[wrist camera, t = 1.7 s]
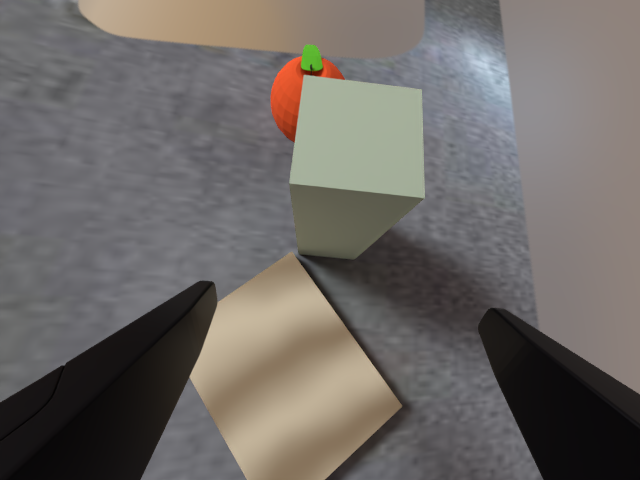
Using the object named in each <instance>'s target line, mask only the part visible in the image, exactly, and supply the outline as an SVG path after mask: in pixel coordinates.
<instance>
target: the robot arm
mask: <svg viewBox="0 0 640 480" xmlns="http://www.w3.org/2000/svg"><path fill="white" fill-rule="evenodd" d="M216 308H217V294H216V287H215V284H214V282H212V281H199V282H197V283H195V284H194V285H192V286H191V287H189V288H187V289H186V290H184V291H182V292H181V293H179V294H177V295H176V296H174V297H173V298H171V299H169V300H168V301H166V302H164V303H163V304H161V305H160V306H158V307H156V308H155V309H153V310H151V311H150V312H148V313H147V314H145V315H143V316H142V317H140V318H138V319H137V320H135V321H134V322H132V323H130V324H129V325H127V326H125V327H124V328H122V329H120V330H119V331H117V332H116V333H114V334H112V335H111V336H109V337H107V338H106V339H104V340H103V341H101V342H99V343H98V344H96V345H94V346H93V347H91V348H90V349H88V350H86V351H85V352H83V353H81V354H80V355H78V356H77V357H75V358H73V359H72V360H70V361H68V362H67V363H66V364H65V366H60V367H58V368H57V369H55V370H54V371H52V372H50V373H49V374H47V375H45V376H44V377H42V378H40V379H39V380H37V381H35V382H34V383H32V384H30V385H29V386H27V387H25V388H24V389H22V390H20V391H19V392H17V393H15V394H14V395H12V396H10V397H9V398H7V399H5V400H4V401H2V402H0V480H140V479H141V477H142V475H143V473H144V471H145V469H146V467H147V465H148V463H149V461H150V459H151V456H152V454H153V452H154V450H155V448H156V446H157V444H158V442H159V440H160V438H161V435H162V433H163V431H164V429H165V427H166V425H167V423H168V421H169V419H170V417H171V414H172V412H173V410H174V408H175V406H176V404H177V402H178V400H179V398H180V396H181V393H182V391H183V389H184V387H185V385H186V383H187V381H188V379H189V377H190V375H191V372H192V370H193V368H194V366H195V364H196V362H197V360H198V358H199V355H200V353H201V350H202V348H203V345H204V342H205V339H206V336H207V334H208V331H209V328H210V325H211V322H212V319H213V316H214V314H215V311H216ZM478 331H479V334H480V337H481V340H482V342H483V345H484V348H485V350H486V353H487V356H488V359H489V361H490V364H491V367H492V370H493V372H494V375H495V377H496V380H497V382H498V384H499V386H500V388H501V391H502V393H503V395H504V397H505V399H506V401H507V403H508V405H509V408H510V410H511V412H512V414H513V416H514V418H515V420H516V422H517V425H518V427H519V429H520V431H521V433H522V435H523V437H524V439H525V442H526V444H527V446H528V448H529V450H530V452H531V454H532V456H533V459H534V461H535V463H536V465H537V467H538V469H539V471H540V473H541V476H542V478H543V480H640V394H638V393H636V392H635V391H633V390H632V389H630V388H628V387H627V386H626V385H624V384H622V383H621V382H619V381H617V380H616V379H614V378H613V377H611V376H610V375H608V374H607V373H605V372H603V371H602V370H600V369H599V368H597V367H595V366H594V365H592V364H591V363H589V362H588V361H586V360H584V359H583V358H581V357H580V356H578V355H577V354H575V353H573V352H572V351H570V350H569V349H567V348H565V347H564V346H562V345H561V344H559V343H557V342H556V341H554V340H553V339H551V338H550V337H548V336H546V335H545V334H543V333H542V332H540V331H539V330H537V329H535V328H534V327H532V326H531V325H529V324H528V323H526V322H524V321H523V320H521V319H520V318H518V317H516V316H515V315H513V314H512V313H510V312H509V311H507V310H505V309H501V308H490V309H488V311H487V312H486V314H485V315H484V317H483V318H482V320H481V321H480V323H479V325H478Z"/></svg>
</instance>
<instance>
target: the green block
mask: <svg viewBox="0 0 640 480" xmlns="http://www.w3.org/2000/svg"><path fill="white" fill-rule="evenodd" d="M289 185H290V193H291V200H292V208H293V215H294V223H295V231H296V238H297V246H298V253H299V254H302V255H313V256H323V257H333V258H343V259H353V260H355V259H356V258H357V257H358V256H359V255H360V254H361V253H363V252H364V251H365V250H366V249H367V248H368V247H369V246H371V245H372V244H373V243H374V242H375V241H376V240H377V239H379V238H380V237H381V236H382V235H383V234H384V233H385V232H387V231H388V230H389V229H390V228H391V227H392V226H393V225H395V224H396V223H397V222H398V221H399V220H400V219H401V218H403V217H404V216H405V215H406V214H407V213H408V212H409V211H411V210H412V209H413V208H414V207H415V206H416V205H417V204H418V203H420V202H421V201H422V200H423V199H424V198H425V190H424V154H423V117H422V90H421V89H413V88H405V87H397V86H389V85H381V84H373V83H365V82H357V81H349V80H341V79H333V78H325V77H317V76H309V75H304V77H303V84H302V92H301V99H300V107H299V114H298V122H297V129H296V137H295V144H294V151H293V159H292V166H291V174H290V181H289Z"/></svg>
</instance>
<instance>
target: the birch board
mask: <svg viewBox="0 0 640 480" xmlns="http://www.w3.org/2000/svg"><path fill="white" fill-rule="evenodd" d="M190 379H191V381H192V382H193V384H194V386H195V388H196V390H197V391H198V393H199V395H200V397H201V398H202V400H203V402H204V404H205V406H206V407H207V409H208V411H209V413H210V415H211V416H212V418H213V420H214V422H215V423H216V425H217V427H218V429H219V431H220V432H221V434H222V436H223V438H224V439H225V441H226V443H227V445H228V447H229V448H230V450H231V452H232V454H233V456H234V457H235V459H236V461H237V463H238V464H239V466H240V468H241V470H242V472H243V473H244V475H245V477H246V479H247V480H325V479H326V478H327V477H328V476H329V475H330V474H331V473H332V472H333V471H334V470H335V469H337V468H338V467H339V466H340V465H341V464H342V463H343V462H344V461H345V460H346V459H347V458H348V457H349V456H350V455H351V454H352V453H353V452H355V451H356V450H357V449H358V448H359V447H360V446H361V445H362V444H363V443H364V442H365V441H366V440H367V439H368V438H369V437H370V436H371V435H373V434H374V433H375V432H376V431H377V430H378V429H379V428H380V427H381V426H382V425H383V424H384V423H385V422H386V421H387V420H388V419H389V418H391V417H392V416H393V415H394V414H395V413H396V412H397V411H398V410H399V409H400V408H401V407H402V405H401V403H400V402H399V401H398V399H397V398H396V396H395V395H394V394H393V392H392V391H391V389H390V388H389V387H388V385H387V384H386V382H385V381H384V380H383V378H382V377H381V375H380V374H379V373H378V371H377V370H376V368H375V367H374V366H373V364H372V363H371V362H370V360H369V359H368V357H367V356H366V355H365V353H364V352H363V350H362V349H361V348H360V346H359V345H358V343H357V342H356V341H355V339H354V338H353V336H352V335H351V334H350V332H349V331H348V329H347V328H346V327H345V325H344V324H343V322H342V321H341V320H340V318H339V317H338V315H337V314H336V313H335V311H334V310H333V308H332V307H331V306H330V304H329V303H328V301H327V300H326V299H325V297H324V296H323V294H322V293H321V292H320V290H319V289H318V287H317V286H316V285H315V283H314V282H313V280H312V279H311V278H310V276H309V275H308V273H307V272H306V271H305V269H304V268H303V266H302V265H301V264H300V262H299V261H298V259H297V258H296V257H295V255H294V254H293V252H290V253H289V254H287V255H286V256H285V257H283V258H282V259H280V260H279V261H277V262H276V263H274V264H273V265H271V266H270V267H269V268H267V269H266V270H264V271H263V272H261V273H260V274H258V275H257V276H255V277H254V278H253V279H251V280H250V281H248V282H247V283H245V284H244V285H242V286H241V287H239V288H238V289H237V290H235V291H234V292H232V293H231V294H229V295H228V296H226V297H225V298H223V299H222V300H221V301H219V302H218V303H217V308H216V311H215V314H214V316H213V319H212V322H211V325H210V328H209V331H208V334H207V336H206V339H205V342H204V345H203V348H202V350H201V353H200V355H199V358H198V360H197V362H196V364H195V366H194V368H193V370H192V372H191V375H190Z"/></svg>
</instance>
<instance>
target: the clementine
mask: <svg viewBox="0 0 640 480" xmlns="http://www.w3.org/2000/svg"><path fill="white" fill-rule="evenodd" d="M304 75H309V76H317V77H325V78H333V79H341V80H345V79H344V77H343V75H342V74H341V72H340V71H339V70H338V69H337V67H336V66H335V65H334V64H332V63H331V62H330V61H328V60H326V59H324V58H321V56H320V53H319V50H318V48H317V47H316V46H315V45H306V46H305V47H304V50H303V54H302V56H301V57H298V58H295V59H293V60H291V61H290V62H288V63H287V64H286V65H285V66H284V67H283V68H282V69H281V70H280V72H279V73H278V75H277V77H276V78H275V81H274V84H273V87H272V92H271V109H272V114H273V117H274V119H275V122H276V124H277V126H278V128H279V129H280V130H281V131H282V132H283V133H284V135H285V136H286V137H287V138H288V139H290V140H291V141H293V142H294V143H295V137H296V129H297V122H298V114H299V107H300V99H301V92H302V84H303V77H304Z"/></svg>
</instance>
